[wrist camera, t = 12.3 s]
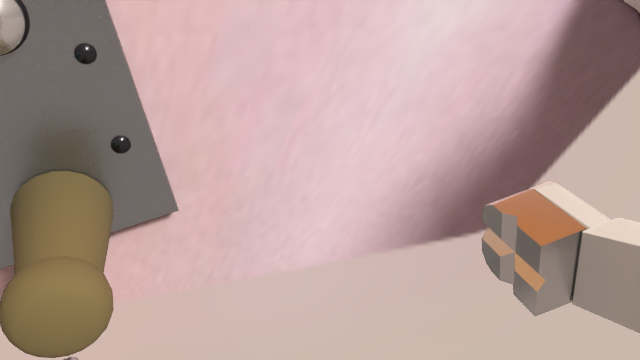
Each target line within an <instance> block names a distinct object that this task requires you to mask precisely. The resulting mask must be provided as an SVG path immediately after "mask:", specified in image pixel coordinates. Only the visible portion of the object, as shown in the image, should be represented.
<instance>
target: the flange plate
mask: <svg viewBox="0 0 640 360" xmlns="http://www.w3.org/2000/svg"><path fill="white" fill-rule="evenodd" d="M16 1H17V2H18V4H19V5H20V7H21V9H22V10H23V13H24V17H25V31H24V34H23V37H22V39H21V41H20V43H19V44H18V45H17V46H16V47H15V48H14V49H13V50H11V51H10V52H8V53H6V54H2V55H0V269H2V268H5V267H8V266H11V265H14V256H13V243H12V229H11V216H10V207H11V204H12V200H13V197H14V195H15V194H16V193H17V191H18V190H19V189H20V188H21V186H22V185H23V184H25V183H26V182H28V181H29V180H31V179H32V178H34V177H35V176H38V175H42V174H45V173H48V172H51V171H72V172H76V173H81V174H85V175H87V176H89V177H90V178H92V179H94V180H96V181H98V182H99V183H100V184H101V185H102V186H103V187H104V188H105V189H106V190H107V191H108V193H109V195H110V198H111V200H112V202H113V221H112V226H111V232H110V233H112V232H115V231H118V230H121V229H124V228H127V227H130V226H133V225H136V224H139V223H142V222H145V221H148V220H151V219H154V218H157V217H160V216H163V215H166V214H169V213H172V212H175V211H178V207H177V204H176V201H175V198H174V195H173V192H172V189H171V186H170V184H169V181H168V178H167V175H166V172H165V169H164V166H163V163H162V161H161V158H160V155H159V152H158V149H157V146H156V143H155V141H154V138H153V135H152V132H151V129H150V126H149V123H148V121H147V118H146V115H145V112H144V109H143V106H142V103H141V101H140V98H139V95H138V92H137V89H136V86H135V83H134V80H133V78H132V75H131V72H130V69H129V66H128V63H127V60H126V58H125V55H124V52H123V49H122V46H121V43H120V40H119V38H118V35H117V32H116V29H115V26H114V23H113V20H112V18H111V15H110V12H109V9H108V6H107V3H106V0H16Z"/></svg>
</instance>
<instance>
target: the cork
mask: <svg viewBox="0 0 640 360" xmlns="http://www.w3.org/2000/svg"><path fill="white" fill-rule="evenodd" d="M10 216H11V229H12V243H13V256H14V269H15V276H14V277H13V278H12V280H11V281H10V282H9V284H8V285H7V286H6V288H5V289H4V292H3V296H2V299H1V302H0V323H1V327H2V331H3V333H4V334H5V335H6V337H7V338H8V340H9V341H10V342H11V343H12V344H13V345H14V346H16V347H17V348H19V349H20V350H22V351H23V352H25V353H27V354H31V355H34V356H38V357H48V358H56V357H62V356H69V355H71V354H74V353H76V352H79V351H82V350H83V349H85V348H86V347H88V346H89V345H91V344H92V343H94V342H95V341H96V340H97V339H98V337H99V336H100V335H101V334H102V333H103V332H104V331H105V329H106V328H107V326H108V323H109V320H110V318H111V315H112V312H113V294H112V289H111V287H110V285H109V283H108V281H107V279H106V277H105V275H104V273H103V272H104V266H105V260H106V255H107V249H108V243H109V238H110V232H111V226H112V221H113V202H112V200H111V198H110V195H109V193H108V191H107V190H106V189H105V188H104V187H103V186H102V185H101V184H100V183H99V182H98V181H96V180H94V179H92V178H90V177H89V176H87V175H85V174H81V173H76V172H72V171H51V172H48V173H45V174H42V175H38V176H35V177H34V178H32V179H31V180H29V181H28V182H26V183H25V184H23V185H22V186H21V188H20V189H19V190H18V191H17V193H16V194H15V195H14V197H13V200H12V204H11V207H10Z"/></svg>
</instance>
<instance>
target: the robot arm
mask: <svg viewBox="0 0 640 360" xmlns="http://www.w3.org/2000/svg"><path fill="white" fill-rule="evenodd" d="M623 1H624V2H626V3H627V4H629V5H630V6H632V7H633V8H635V9H636V10H637V11H638V12H639V13H640V0H623ZM482 222H483V223H484V224H485V225H486V226H487V227H488V229H487V231H486V232H485V234H484V236H483V237H482V251H483V254H484V257H485V260H486V263H487V265H488V266H489V268H490V269H491V271H492V272H493V273H494V274H495V275H496V276H497V278H498V279H499V280H501V281H504V282H507V283H511V284H513V290H514V295H515V296H516V297H517V298H518V299H519V300H520V301H521V302H522V303H523V304H524V305H525V306H526V307H527V308H528V309H529V311H531V312H532V314H534V316H537V315H540V314H542V313H545V312H547V311H550V310H553V309H555V308H558V307H560V306H563V305H565V304H568V303H571V302H573V304H574V305H576V306H578V307H580V308H583V309H585V310H587V311H590V312H592V313H594V314H597V315H599V316H602V317H604V318H606V319H608V320H611V321H613V322H615V323H618V324H620V325H622V326H625V327H627V328H629V329H631V330H634V331H636V332H638V333H640V222H635V221H630V220H626V219H621V218H615V219H613V220H610V219H609V218H607V217H606V216H604V215H603V214H602V213H600V212H599V211H597V210H596V209H594V208H593V207H591V206H590V205H588V204H587V203H586V202H584V201H583V200H581V199H580V198H578V197H577V196H575V195H574V194H572V193H571V192H570V191H568V190H566V189H565V188H564V187H562V186H561V185H559V184H558V183H556V182H553V181H547V182H544V183H541V184H539V185H536V186H533V187H531V188H528V189H527V190H524V191H521V192H518V193H516V194H513V195H510V196H508V197H505V198H503V199H500V200H497V201H495V202H492V203H489V204H487V205H485V207H484V209H483V211H482ZM64 360H78V358H76V357H70V358H67V359H64Z"/></svg>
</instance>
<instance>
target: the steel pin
mask: <svg viewBox="0 0 640 360" xmlns="http://www.w3.org/2000/svg"><path fill="white" fill-rule="evenodd" d="M24 31H25V17H24V13H23V10H22V9H21V7H20V5H19V4H18V2H17V1H16V0H0V55H2V54H6V53H8V52H10V51H11V50H13V49H14V48H15V47H16V46H17V45H18V44H19V43H20V41H21V39H22V37H23V34H24Z"/></svg>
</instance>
